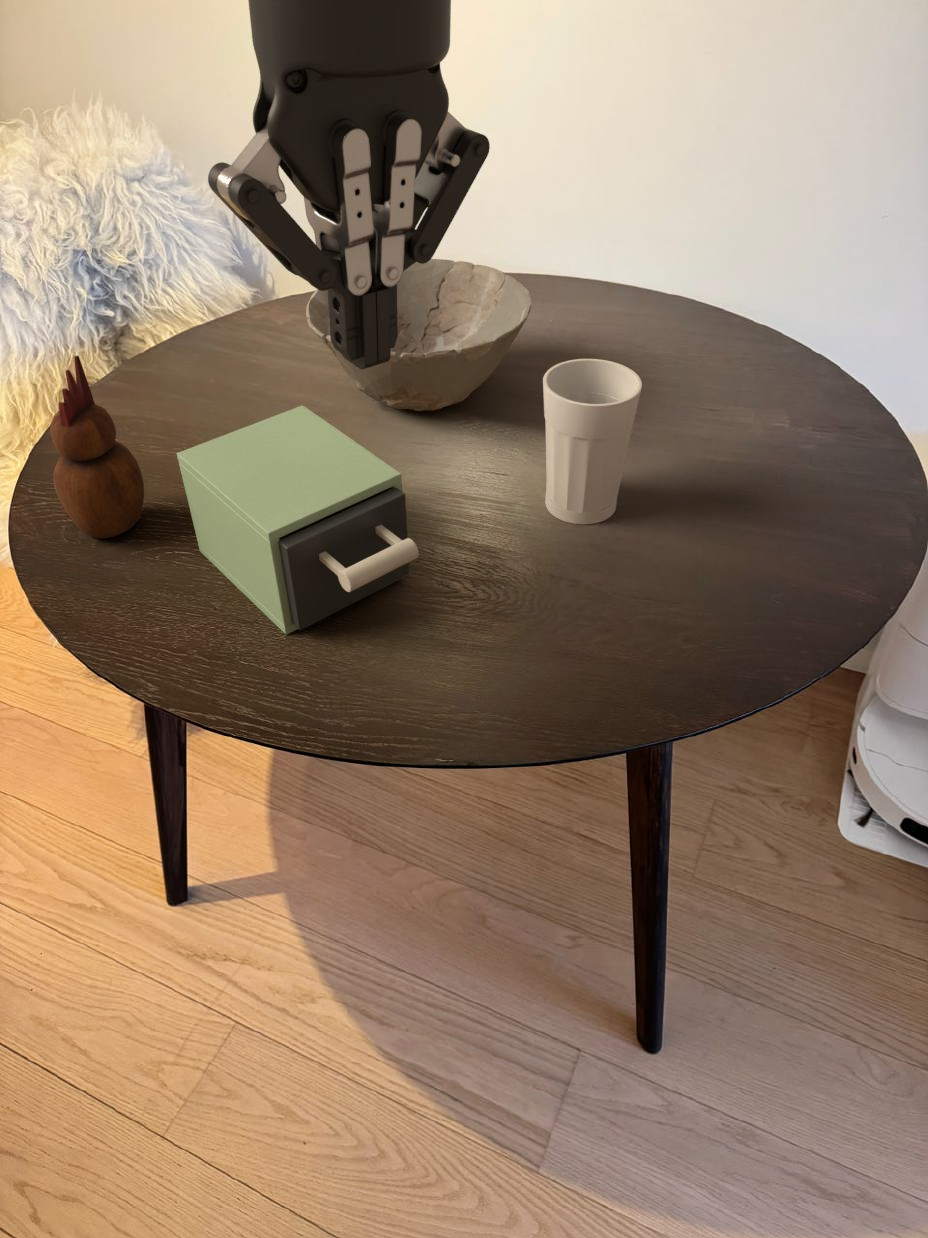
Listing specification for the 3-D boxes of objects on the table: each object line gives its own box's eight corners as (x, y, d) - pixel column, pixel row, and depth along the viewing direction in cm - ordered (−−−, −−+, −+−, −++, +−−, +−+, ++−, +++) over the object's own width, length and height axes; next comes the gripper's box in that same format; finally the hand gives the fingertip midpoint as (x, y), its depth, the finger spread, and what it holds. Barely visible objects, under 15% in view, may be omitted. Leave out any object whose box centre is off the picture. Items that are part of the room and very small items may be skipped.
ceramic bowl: (518, 340, 108) (522, 253, 102) (536, 446, 91) (541, 350, 84) (326, 343, 108) (316, 256, 101) (307, 451, 91) (294, 354, 84)
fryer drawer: (443, 601, 73) (442, 519, 68) (332, 662, 68) (321, 578, 63) (323, 505, 82) (313, 427, 77) (217, 552, 77) (199, 472, 72)
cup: (523, 517, 82) (529, 394, 74) (551, 471, 88) (560, 351, 80) (611, 538, 80) (627, 413, 72) (635, 489, 86) (652, 368, 78)
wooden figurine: (122, 496, 85) (76, 340, 75) (165, 518, 82) (123, 360, 72) (59, 533, 81) (1, 373, 71) (101, 557, 78) (48, 395, 68)
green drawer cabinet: (407, 572, 77) (401, 473, 70) (286, 635, 71) (268, 533, 65) (315, 500, 84) (302, 404, 78) (199, 551, 79) (175, 452, 73)
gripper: (432, -111, 38) (428, 300, 50) (123, -102, 32) (201, 366, 44) (556, -90, 34) (520, 353, 46) (229, -76, 28) (284, 435, 39)
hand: (364, 359), depth 45 cm, fingers closed
